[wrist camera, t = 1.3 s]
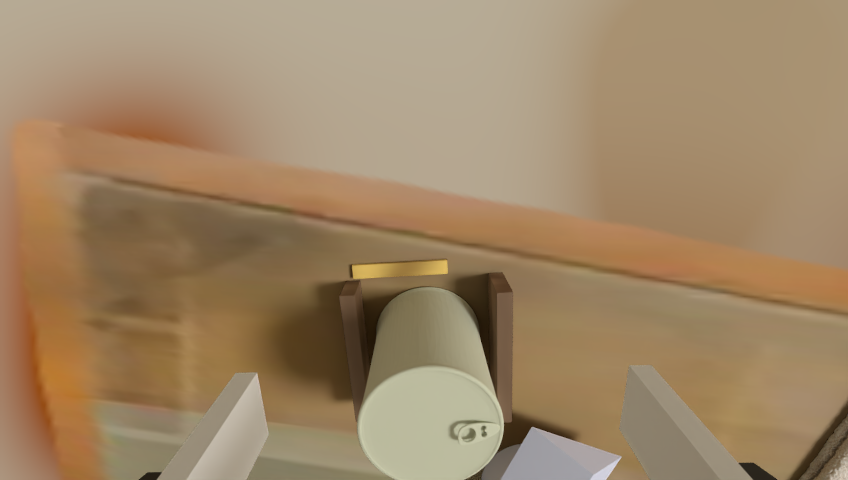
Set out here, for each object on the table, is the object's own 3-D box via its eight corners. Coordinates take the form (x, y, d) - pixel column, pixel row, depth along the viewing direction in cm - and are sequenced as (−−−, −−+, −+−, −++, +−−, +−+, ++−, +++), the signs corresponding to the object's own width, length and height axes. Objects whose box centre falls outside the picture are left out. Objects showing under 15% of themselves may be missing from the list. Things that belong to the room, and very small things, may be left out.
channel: (360, 398, 37) (353, 430, 33) (344, 264, 33) (334, 283, 29) (502, 390, 37) (511, 422, 33) (502, 256, 33) (513, 273, 29)
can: (479, 375, 36) (505, 492, 25) (380, 379, 37) (361, 497, 25) (478, 284, 34) (508, 368, 22) (372, 288, 34) (346, 374, 22)
